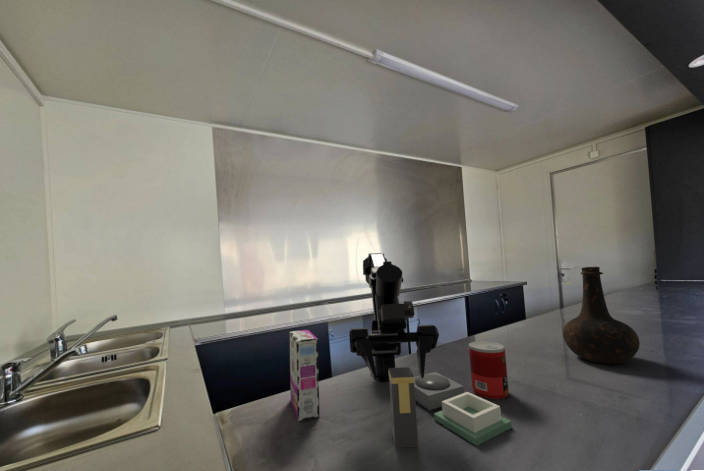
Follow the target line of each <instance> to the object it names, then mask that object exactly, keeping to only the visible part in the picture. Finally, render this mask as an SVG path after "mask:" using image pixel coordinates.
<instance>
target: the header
mask: <svg viewBox="0 0 704 471" xmlns="http://www.w3.org/2000/svg"><path fill="white" fill-rule="evenodd" d="M441 408H442V410H439V411H437V412H435V413H433V420H434V419H435V420H436V421H435V420H434V421H435V422H437V421H438V422H437V423H438V424H440V423H441V425H442V424H443V425H442V426H444V427H446V428H447V429H448V430H450V431H452V432H453V433H455V434H457V435H458V436H460V437H462V438H463V439H465V440H466V441H469V442H470V444H473V445H475V446H476V447H477V446H480V445H481V444H484V443H485V442H487V441H489V440H491V439H493V438H495V437H497V436H498V435H500V434H503V433H504V432H506V431H508V430H510V429H511V428H512V427H513V426H512V424H513V423H512V420H510V419H507V418H506V417H504V416H502V413H501V406H500V405H499V404H495V403H494V402H491V401H489V400H487V399H486V398H485V399H484V398H483V397H481V396H479V395H477V394H476V395H475V394H473V393H471V392H468V391H464V393H463V394H460V395H458V396H455V397H452V398H450V399H447V400H444V401H442V407H441Z"/></svg>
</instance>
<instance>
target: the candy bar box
mask: <svg viewBox="0 0 704 471" xmlns="http://www.w3.org/2000/svg"><path fill="white" fill-rule="evenodd" d="M289 366H290V367H289V374H290V375H289V376H290V377H289V378H290V380H289V381H290V384H289V385H290V386H289V387H290V402H291V405H292V407H293V411H294V413H295V416H296V419H297V421H298V422H302V421H303V422H304V421H308V420H312V419H317V418H319V417H320V414H321V412H320V388H319V387H320V386H319V385H320V384H319V383H320V382H319V381H320V380H319V378H320V377H319V372H320V371H319V339H318V337H316V336H315V334H313V333H312V332H311V331H310V330H309V329H301V330H293V331H289Z"/></svg>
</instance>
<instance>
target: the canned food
mask: <svg viewBox="0 0 704 471" xmlns="http://www.w3.org/2000/svg"><path fill="white" fill-rule="evenodd" d="M468 352H469V354H468V356H469V364H470V366H469V367H470V376H471V377H470V378H471V387H472V390H473V392H474V393H475V394H476V395H477V394H478V395H477V396H479V395H480V396H479V397H481V398H485V397H486V398H485V399H489V398H490V399H491V400H502V399H505V398H506V397H508V396H509V381H508V371H507V370H508V368H507V358H506V350H505V346H504V345H503V344H501V343H497V342H494V341H485V340H484V341H483V340H481V341H479V340H478V341H472V342H470V343H468Z"/></svg>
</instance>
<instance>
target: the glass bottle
mask: <svg viewBox="0 0 704 471" xmlns="http://www.w3.org/2000/svg"><path fill="white" fill-rule="evenodd" d="M600 270H601V267H600V266H585V267H581V272H580V273H579V274H580V275H582V302H581V303H582V304H581V309H580V312H579V314H578V316H576V317H574V318H572V319H571V320H568V321H567V322H566V323H565V325H564V327H563V329H562V338H563V340H564V342H565V344H566V345H567V347H568V349H569V350H570V351H571V352H572V353H573V354H575V355H576V356H578V357H580V358H581V359H584V360H585V361H590V362H594V363H598V364H606V365H615V364H616V365H618V364H623V363H627V362H628V361H630V360H632V359H633V358H634V357H635V356H636V355H637V353H638V351H639V349H640V338H639V335H638V334H637V333H636V331H635V330H634V329H633V328H632V327H631V326H630V325H628V324H627V323H626V322H625V323H624V322H623V321H621V320H618V319H616V318H613V316H612V315H611V314H610V312H609V309H608V306H607V302H606V299H605V295H604V290H603V285H602V280H601V275H603V274H604V272H602V271H600Z"/></svg>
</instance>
